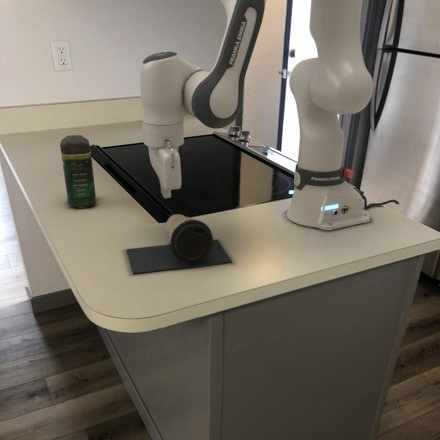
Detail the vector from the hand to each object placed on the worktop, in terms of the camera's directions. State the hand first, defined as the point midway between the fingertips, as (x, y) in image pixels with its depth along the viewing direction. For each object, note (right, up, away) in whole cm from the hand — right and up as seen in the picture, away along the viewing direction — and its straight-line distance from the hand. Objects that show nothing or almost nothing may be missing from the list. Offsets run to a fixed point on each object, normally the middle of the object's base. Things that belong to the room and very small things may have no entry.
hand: (166, 196), depth 113 cm
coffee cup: (+2, -6, +4) cm, 8 cm away
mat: (+3, -14, -2) cm, 15 cm away
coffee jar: (-27, +3, +27) cm, 38 cm away
